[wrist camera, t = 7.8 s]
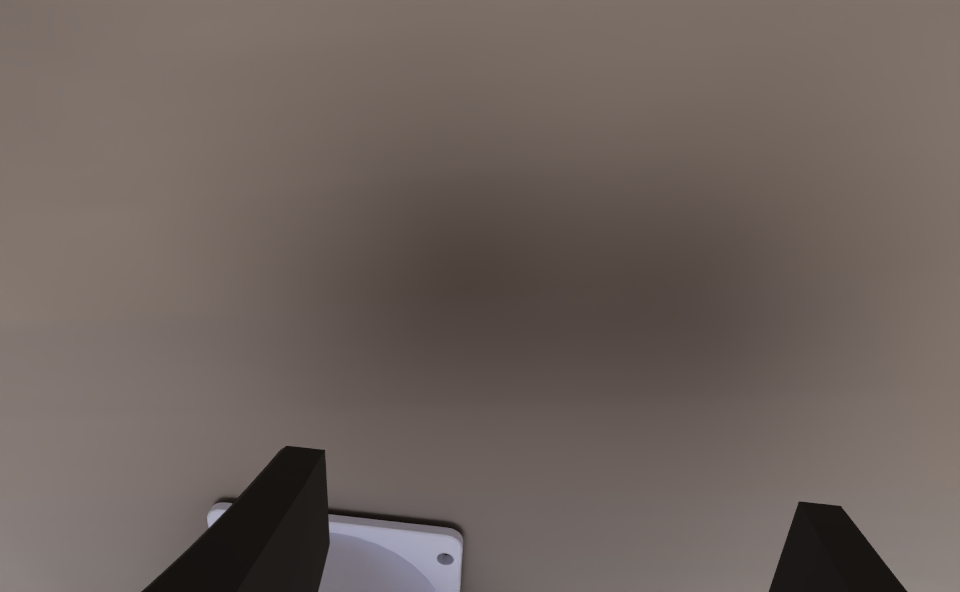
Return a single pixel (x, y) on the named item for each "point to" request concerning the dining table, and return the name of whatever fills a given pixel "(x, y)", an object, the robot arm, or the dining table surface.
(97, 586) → the dining table surface
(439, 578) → the robot arm
